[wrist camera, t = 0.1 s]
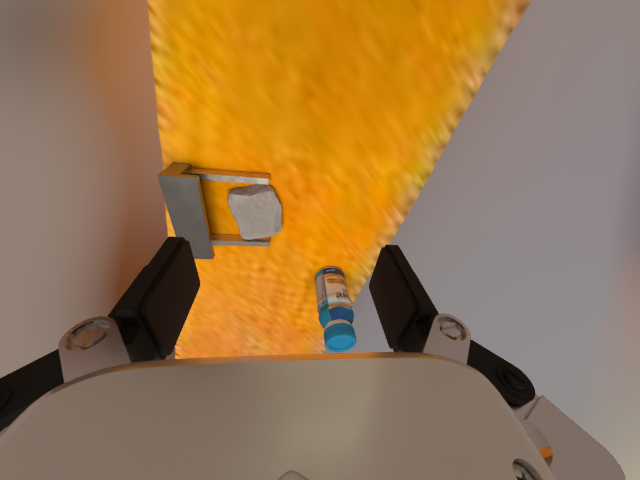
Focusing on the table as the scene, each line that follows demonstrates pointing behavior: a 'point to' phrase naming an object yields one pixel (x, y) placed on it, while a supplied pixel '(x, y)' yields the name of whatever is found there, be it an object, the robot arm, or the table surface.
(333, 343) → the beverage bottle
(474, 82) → the table surface
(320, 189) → the table surface
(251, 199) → the stone block
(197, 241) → the steel lip bracket
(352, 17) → the table surface
